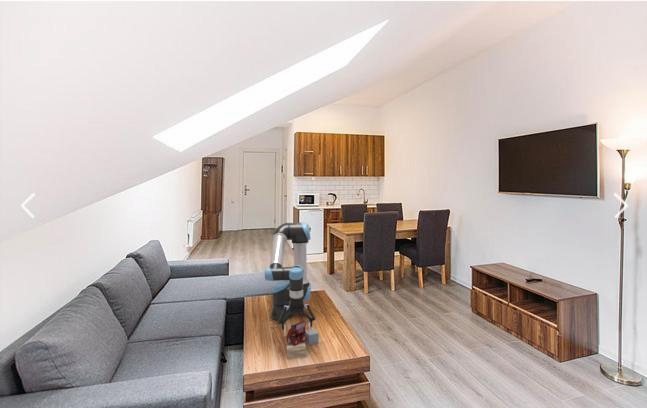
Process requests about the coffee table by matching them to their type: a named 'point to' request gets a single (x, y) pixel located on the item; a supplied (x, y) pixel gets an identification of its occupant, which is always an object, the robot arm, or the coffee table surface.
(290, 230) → the robot arm
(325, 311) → the coffee table surface
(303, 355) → the maple block
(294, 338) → the toy fire truck
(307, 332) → the slate cube
